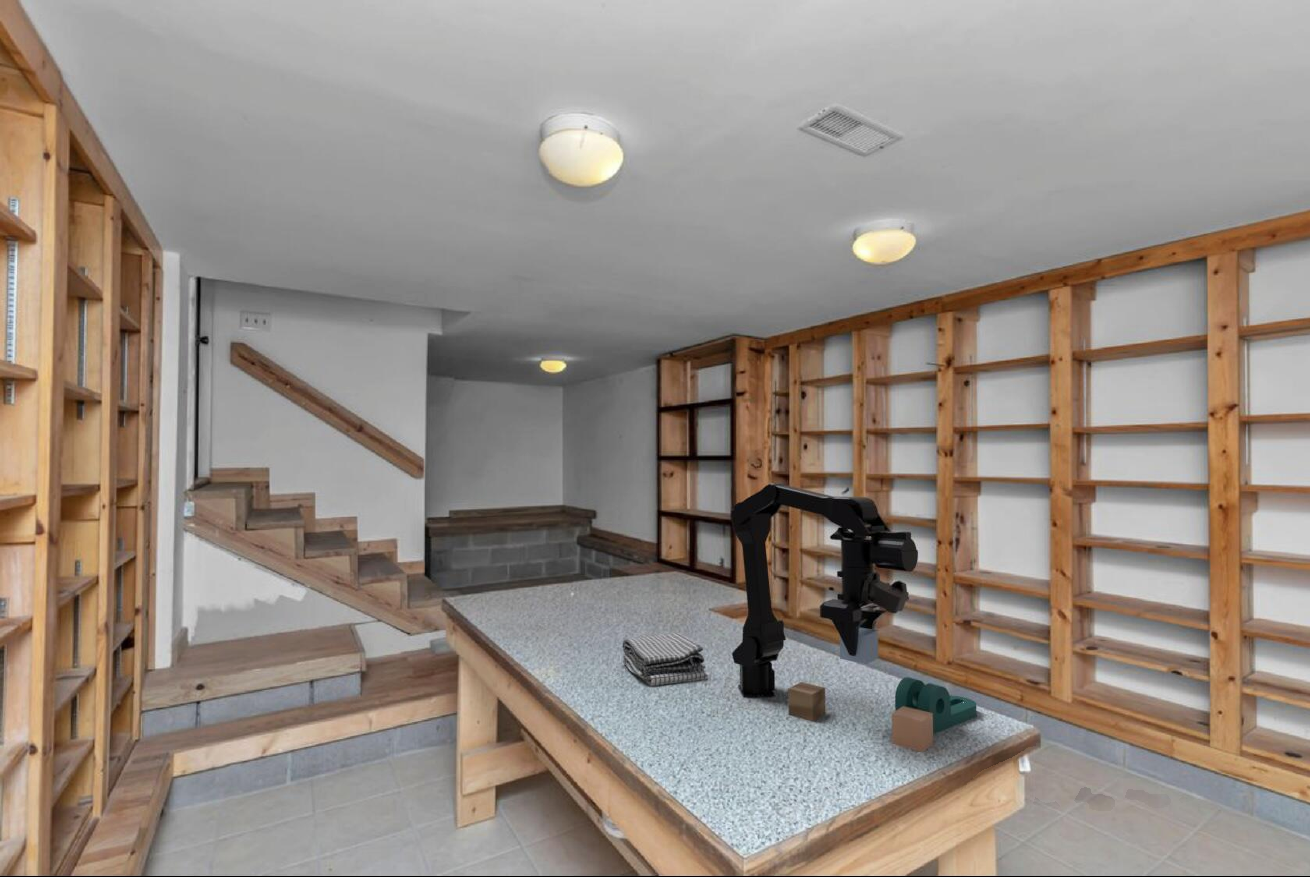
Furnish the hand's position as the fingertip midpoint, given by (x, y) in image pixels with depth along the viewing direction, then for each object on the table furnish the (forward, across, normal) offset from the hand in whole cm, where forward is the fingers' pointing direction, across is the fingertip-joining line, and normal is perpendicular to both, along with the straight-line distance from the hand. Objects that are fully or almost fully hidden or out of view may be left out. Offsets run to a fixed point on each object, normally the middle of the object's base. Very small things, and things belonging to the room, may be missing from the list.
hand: (858, 652), depth 117 cm
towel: (+14, 0, +48) cm, 50 cm away
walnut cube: (+13, -1, +10) cm, 16 cm away
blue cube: (+1, 0, 0) cm, 1 cm away
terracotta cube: (+13, -1, -10) cm, 16 cm away
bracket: (+13, +13, -10) cm, 21 cm away
